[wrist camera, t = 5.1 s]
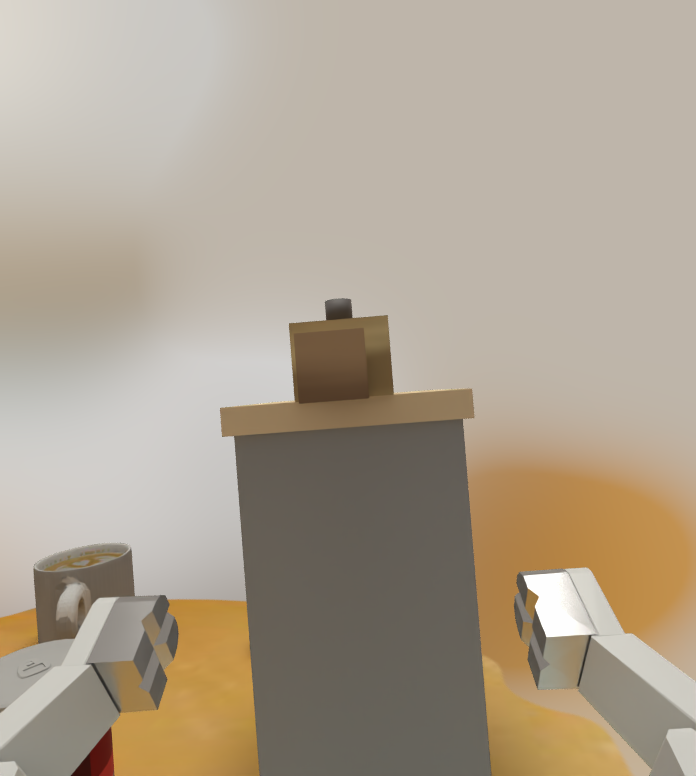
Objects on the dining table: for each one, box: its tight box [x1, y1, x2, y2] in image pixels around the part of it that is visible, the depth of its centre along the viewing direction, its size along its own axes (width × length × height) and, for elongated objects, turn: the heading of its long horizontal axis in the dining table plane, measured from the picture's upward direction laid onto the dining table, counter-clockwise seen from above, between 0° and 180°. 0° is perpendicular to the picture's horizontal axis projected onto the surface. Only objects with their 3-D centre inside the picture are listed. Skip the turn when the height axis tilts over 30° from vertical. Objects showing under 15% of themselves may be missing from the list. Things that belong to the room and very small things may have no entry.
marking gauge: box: [289, 298, 394, 404], centre depth 27 cm, size 20×5×5 cm, turn 178°
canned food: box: [0, 639, 114, 776], centre depth 30 cm, size 8×8×11 cm
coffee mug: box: [34, 543, 135, 644], centre depth 56 cm, size 13×10×10 cm
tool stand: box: [220, 389, 491, 776], centre depth 33 cm, size 15×13×26 cm
